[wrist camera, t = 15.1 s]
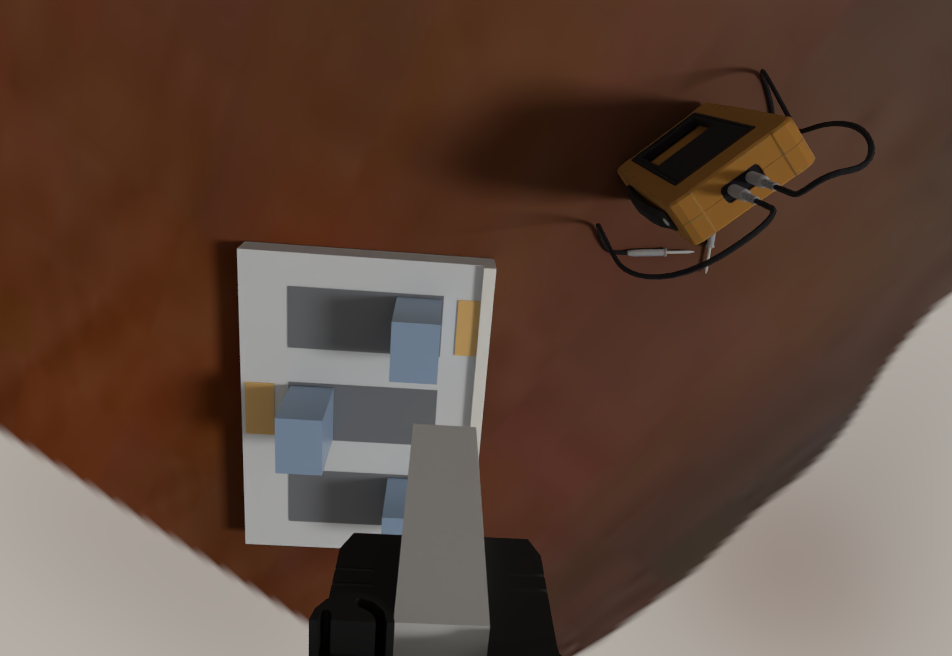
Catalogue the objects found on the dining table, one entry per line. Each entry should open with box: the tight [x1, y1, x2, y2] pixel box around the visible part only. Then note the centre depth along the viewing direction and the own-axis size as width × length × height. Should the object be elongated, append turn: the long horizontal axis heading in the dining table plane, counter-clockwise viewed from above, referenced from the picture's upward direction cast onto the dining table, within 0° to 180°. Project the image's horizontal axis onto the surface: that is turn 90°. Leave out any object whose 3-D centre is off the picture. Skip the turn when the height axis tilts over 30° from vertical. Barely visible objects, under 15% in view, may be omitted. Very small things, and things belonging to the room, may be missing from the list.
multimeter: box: [596, 69, 875, 279], centre depth 41 cm, size 15×10×20 cm
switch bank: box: [237, 241, 496, 548], centre depth 54 cm, size 23×17×3 cm
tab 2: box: [381, 478, 408, 535], centre depth 53 cm, size 4×3×5 cm
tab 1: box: [275, 385, 334, 476], centre depth 50 cm, size 4×3×5 cm
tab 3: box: [389, 297, 442, 385], centre depth 48 cm, size 4×3×5 cm
